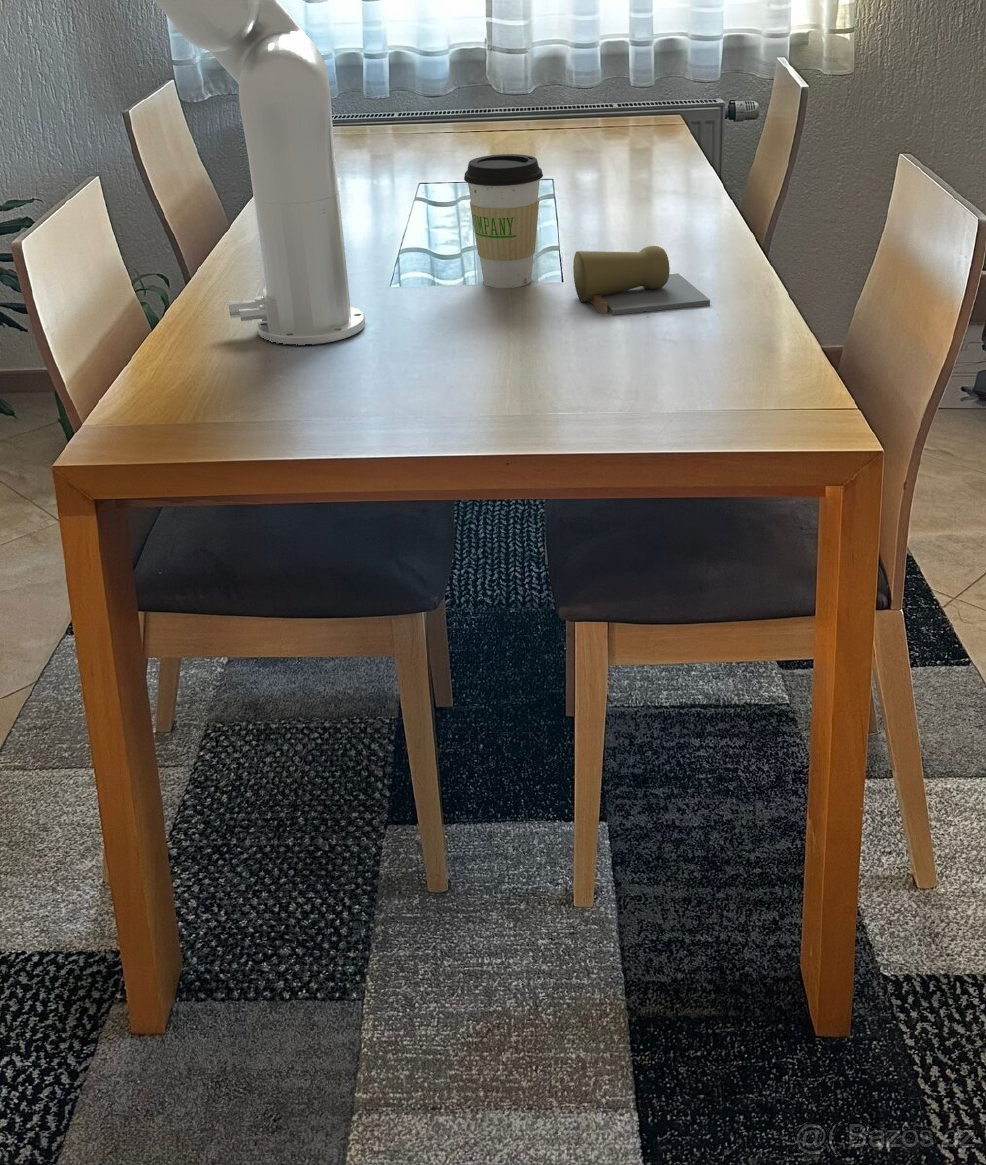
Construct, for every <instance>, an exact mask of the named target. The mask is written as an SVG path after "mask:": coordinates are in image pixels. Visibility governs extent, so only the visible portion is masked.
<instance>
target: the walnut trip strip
mask: <svg viewBox="0 0 986 1165" xmlns="http://www.w3.org/2000/svg"><path fill="white" fill-rule="evenodd" d="M588 301H589V303H590V304H592V306H593V307H594V308H595V309H596V310H597V311H598V312H599V313H600V314H607V313H608V309H607V302H606V301H605V300H604V299H603V298H602V297H601V296H600V295H593V297H592V299H591V300H588Z"/></svg>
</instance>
